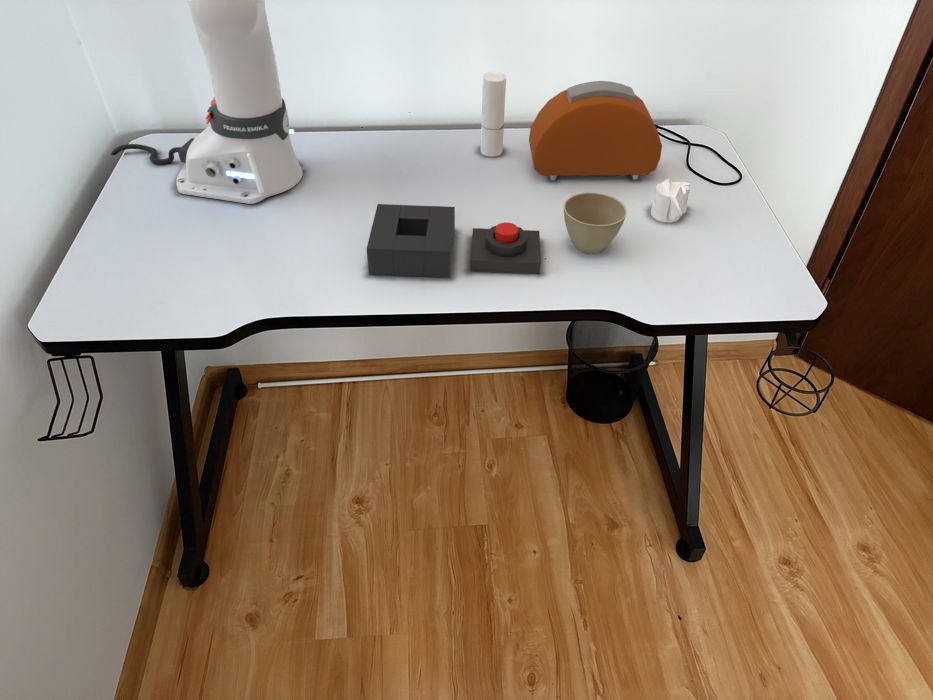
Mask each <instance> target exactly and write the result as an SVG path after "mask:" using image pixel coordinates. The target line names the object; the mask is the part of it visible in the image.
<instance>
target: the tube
mask: <svg viewBox="0 0 933 700" xmlns="http://www.w3.org/2000/svg"><path fill="white" fill-rule="evenodd" d="M506 86H507V75H506V74H504V73H503V72H500V71H490V72H486V73H484V74H483V75H482V92H481V93H482V94H481V95H482V96H481V128H480V154H482V155H483V156H486V157H491V158H492V157H499V156H501V155H502V154H503V151H504V147H503V146H504V131H505V129H504V127H505V126H504V125H505V111H506V109H505V107H506V89H507V87H506Z"/></svg>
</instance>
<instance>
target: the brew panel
mask: <svg viewBox="0 0 933 700" xmlns="http://www.w3.org/2000/svg"><path fill="white" fill-rule="evenodd" d="M496 226H497V225H494V226H491V227H490V228H480V227H479V228H478V227H477V228H474V227H473V228H472V233H471V235H472V236H471V249H470V265H469V266H470V268H469V269H470V270H469V271H470V272H478V273H502V274H503V273H504V274H526V275H527V274H529V275H531V274H533V275H535V274H536V275H540V274H541V266H542V265H541V264H542V261H541V260H542V259H541V236H540V235H541V234H540V230H535V229H534V230H532V229H531V230H529V229H523V228H522V227H521V226H517V227H518V239H517V241H515V242H513V243H501V242H499V241H497V240H496V239H495V228H496Z"/></svg>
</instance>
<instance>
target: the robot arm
mask: <svg viewBox="0 0 933 700" xmlns="http://www.w3.org/2000/svg"><path fill="white" fill-rule="evenodd" d="M187 4H188V7H189V11H190V14H191V18H192V21H193V25H194V29H195V31H196V34H197V38H198V41H199V43H200V47H201V50H202V53H203V55H204V58H205V61H206V64H207V68H208V73H209V77H210V81H211V87H212V90H213V91H212V92H213V96H214V97H213V98H212V100H211V101H210V106H209V108H208V109H207V114H206V115H205V118H204V119H205V120H206V121H205V122H206V125H208V124H209V125H208V126H207V127H206V128H204V130H202V131H201V132H200V133H199V134H198V135H196V137H195V138H194V137H191V138H189V140H187V142H185V143H184V144H183V145H181V146H175V147H172V148H170V149H169V150H168V153H167V155H168V157H166V158H156V157H157V154H158V151H157V149H156V148H154V147H152V146H150V145H149V146H148V145H145V144H139V143H127V144H122V145H119V146H117V147H115V148H113V150H112V151H111V152H110V155H111V156H117V155H118V154H119V153H121V152H123V151H126V150H141V151H146V152H149V153H150V155H149V161H150V162H151V163H153V164H156V165H167V164H171V163H172V162H173V161H174V160H175V154H178V158H179V161H180V163H183V164H184V165H183V166H182V168H181V169H180V170H179V172H178V175H177V177H176V188H177V191H178V192H179V193H180V194H182V195H188V196H194V197H201V198H209V199H214V200H220V201H221V200H222V201H229V202H233V203H234V202H235V203H242V204H248V205H254V204H258V203H259V202H261V201H264V200H265V199H267V198H269V197H271V196H276V195H279V194H282V193H284V192H287V191H290V190H291V189H292V188H294V187H295V186H297V185H298V183H300V182H301V180H302V179H303V175H304V171H303V168H302V167H301V165H300V162H299V161H298V158H297V156H296V154H295V150H294V147H293V145H292V140H291V137H290V134H295V130H294V129H293V128H291V129H290V120H289V114H288V110H287V106H286V101H285V100H284V98H283V97H282V91H281V84H280V78H279V77H280V76H279V73H278V72H279V71H278V66H277V65H278V64H277V60H276V59H277V58H276V55H275V50H274V47H273V41H272V37H271V32H270V27H269V22H268V21H269V20H268V15H267V11H266V1H265V0H187Z"/></svg>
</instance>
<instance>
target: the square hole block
mask: <svg viewBox="0 0 933 700" xmlns="http://www.w3.org/2000/svg"><path fill="white" fill-rule="evenodd" d="M374 213H375V214H374V216H373V222H372V225H371V229H370V233H369V237H368V241H367V245H366V256H367V268H368V270H367V271H368V275H370V276H389V277H391V276H392V277H418V278H419V277H420V278H442V279H451V273H452V263H453V253H454V243H455V233H456V206H446V205H445V206H444V205H443V206H442V205H418V204H417V205H416V204H415V205H413V204H391V203H389V204H387V203H378V204H377V205H376V209H375V212H374Z"/></svg>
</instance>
